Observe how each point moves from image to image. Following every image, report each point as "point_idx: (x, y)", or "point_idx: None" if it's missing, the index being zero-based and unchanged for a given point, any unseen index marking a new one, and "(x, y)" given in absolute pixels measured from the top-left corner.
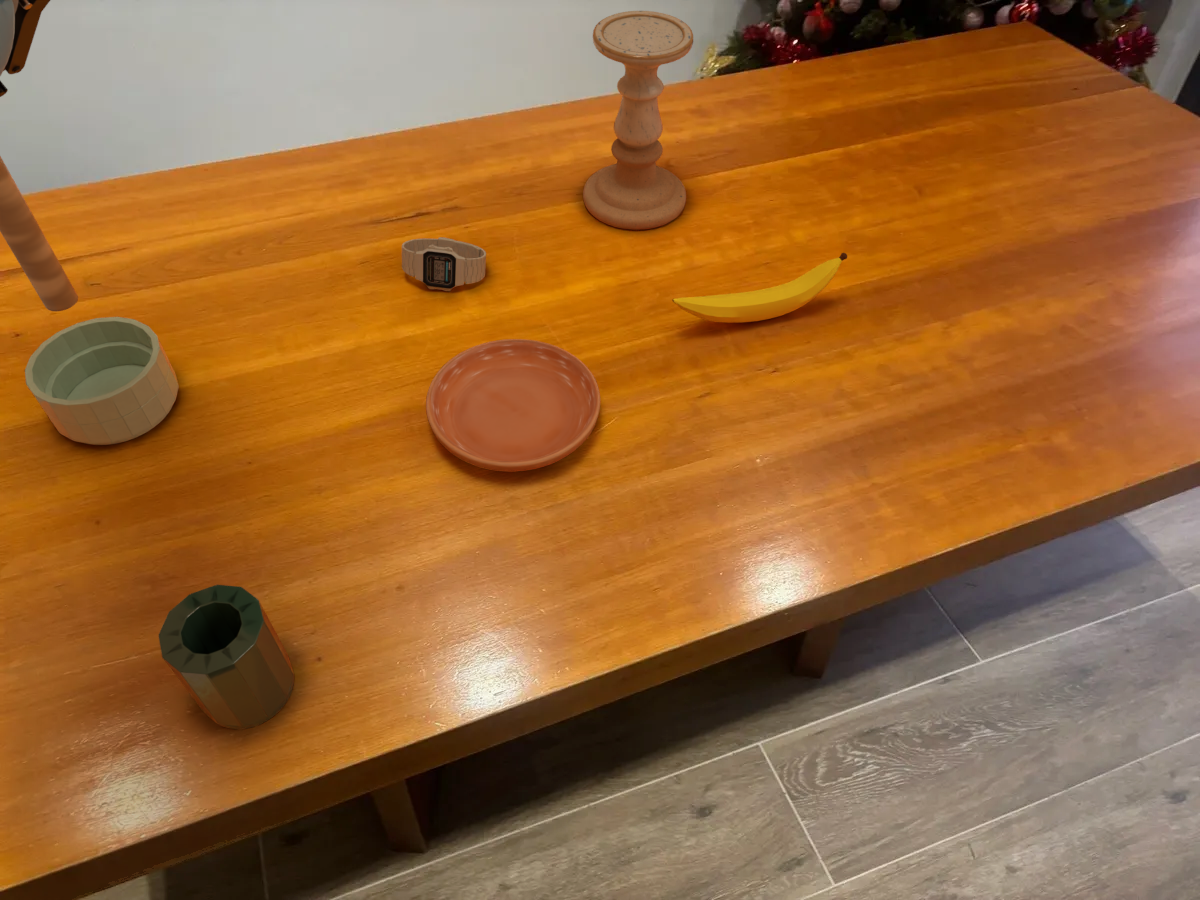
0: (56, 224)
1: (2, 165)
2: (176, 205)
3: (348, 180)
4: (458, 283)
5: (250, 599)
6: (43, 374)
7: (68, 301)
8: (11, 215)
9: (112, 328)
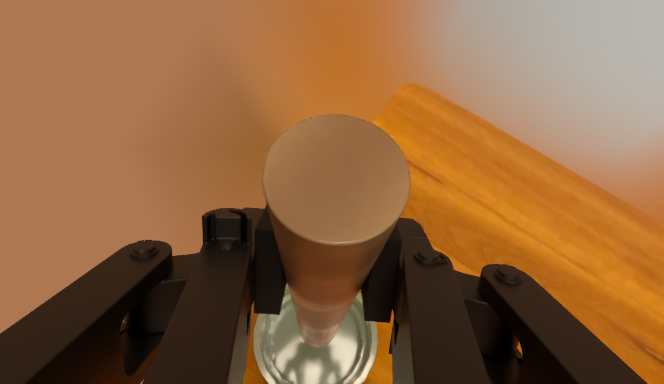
0: (419, 117)
1: (340, 320)
2: (502, 169)
3: (649, 267)
4: None
5: None
6: (284, 294)
7: (317, 347)
8: (310, 333)
9: (357, 302)
